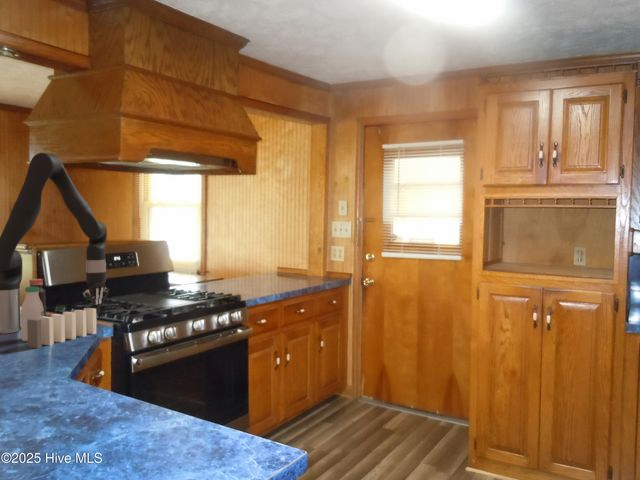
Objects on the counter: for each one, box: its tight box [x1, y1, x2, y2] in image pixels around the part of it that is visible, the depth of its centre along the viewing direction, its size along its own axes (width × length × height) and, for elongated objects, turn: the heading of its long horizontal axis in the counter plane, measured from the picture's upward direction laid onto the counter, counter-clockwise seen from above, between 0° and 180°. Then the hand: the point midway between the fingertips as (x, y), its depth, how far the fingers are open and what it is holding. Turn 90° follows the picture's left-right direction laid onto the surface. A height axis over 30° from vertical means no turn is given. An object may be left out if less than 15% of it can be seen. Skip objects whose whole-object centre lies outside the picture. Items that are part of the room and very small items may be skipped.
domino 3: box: [50, 313, 66, 343], centre depth 199 cm, size 2×5×10 cm, turn 67°
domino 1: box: [27, 319, 43, 350], centre depth 189 cm, size 2×5×10 cm, turn 67°
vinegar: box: [28, 278, 47, 317], centre depth 223 cm, size 7×7×20 cm
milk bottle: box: [20, 286, 44, 342], centre depth 201 cm, size 8×8×20 cm
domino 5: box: [72, 309, 87, 338], centre depth 208 cm, size 2×5×10 cm, turn 67°
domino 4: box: [62, 311, 77, 341], centre depth 203 cm, size 2×5×10 cm, turn 67°
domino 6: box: [83, 307, 97, 335], centre depth 212 cm, size 2×5×10 cm, turn 67°
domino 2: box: [40, 316, 55, 346], centre depth 194 cm, size 2×5×10 cm, turn 66°
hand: (96, 313), depth 215 cm, fingers closed
